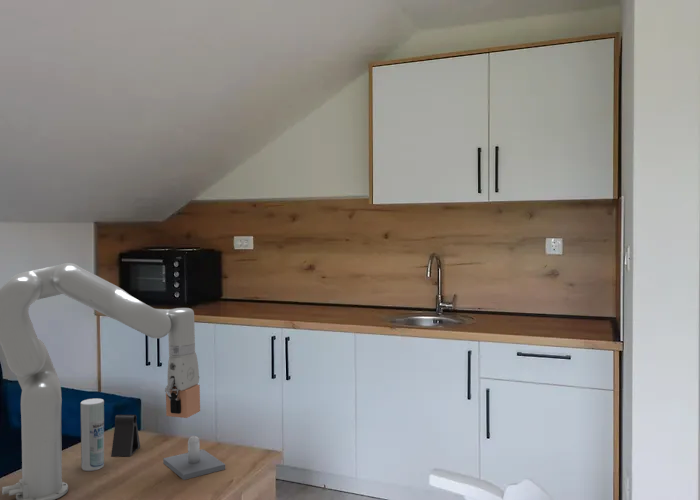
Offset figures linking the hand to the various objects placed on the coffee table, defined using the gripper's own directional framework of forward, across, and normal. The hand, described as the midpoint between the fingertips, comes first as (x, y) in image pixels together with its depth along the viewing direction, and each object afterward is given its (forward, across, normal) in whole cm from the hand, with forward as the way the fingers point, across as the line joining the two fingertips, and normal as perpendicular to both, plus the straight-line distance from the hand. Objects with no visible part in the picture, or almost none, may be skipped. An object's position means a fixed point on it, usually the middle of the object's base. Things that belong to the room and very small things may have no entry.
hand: (183, 408), depth 178 cm
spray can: (+18, -7, +28) cm, 34 cm away
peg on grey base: (+18, +3, -1) cm, 19 cm away
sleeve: (+1, 0, 0) cm, 1 cm away
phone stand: (+18, +7, +27) cm, 33 cm away
